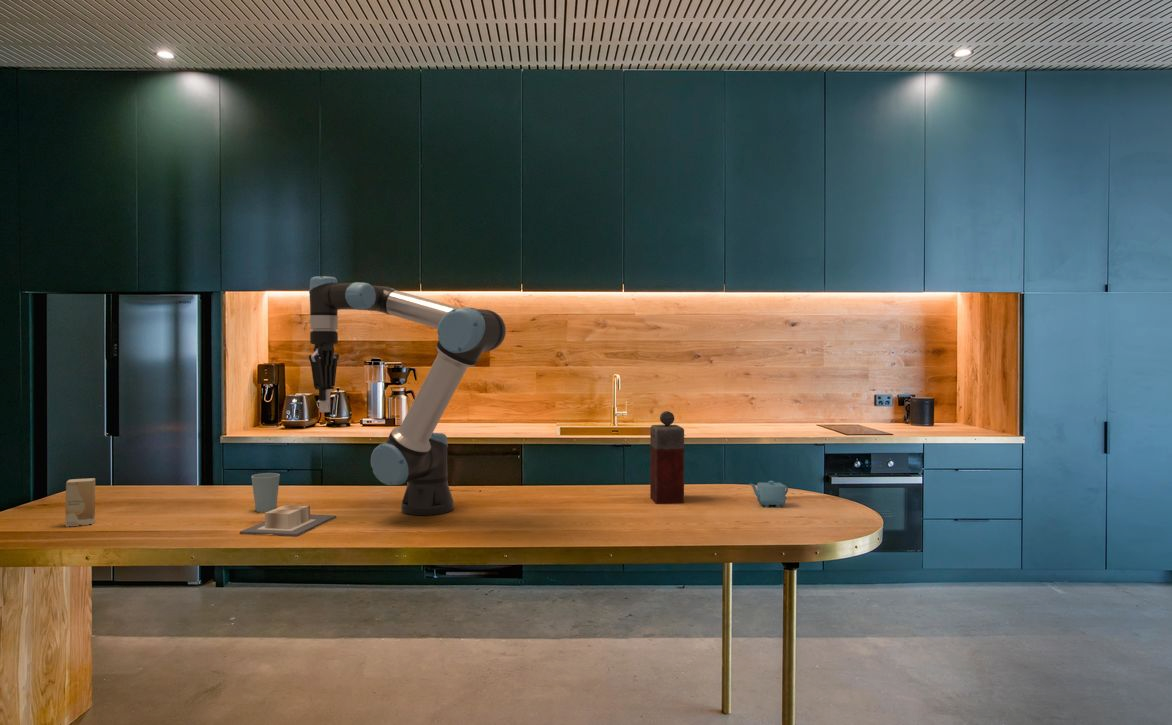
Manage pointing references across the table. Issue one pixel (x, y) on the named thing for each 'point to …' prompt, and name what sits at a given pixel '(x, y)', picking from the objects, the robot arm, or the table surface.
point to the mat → (295, 531)
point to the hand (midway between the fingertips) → (324, 411)
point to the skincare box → (80, 502)
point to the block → (287, 516)
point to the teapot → (770, 493)
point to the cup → (265, 491)
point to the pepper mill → (667, 461)
